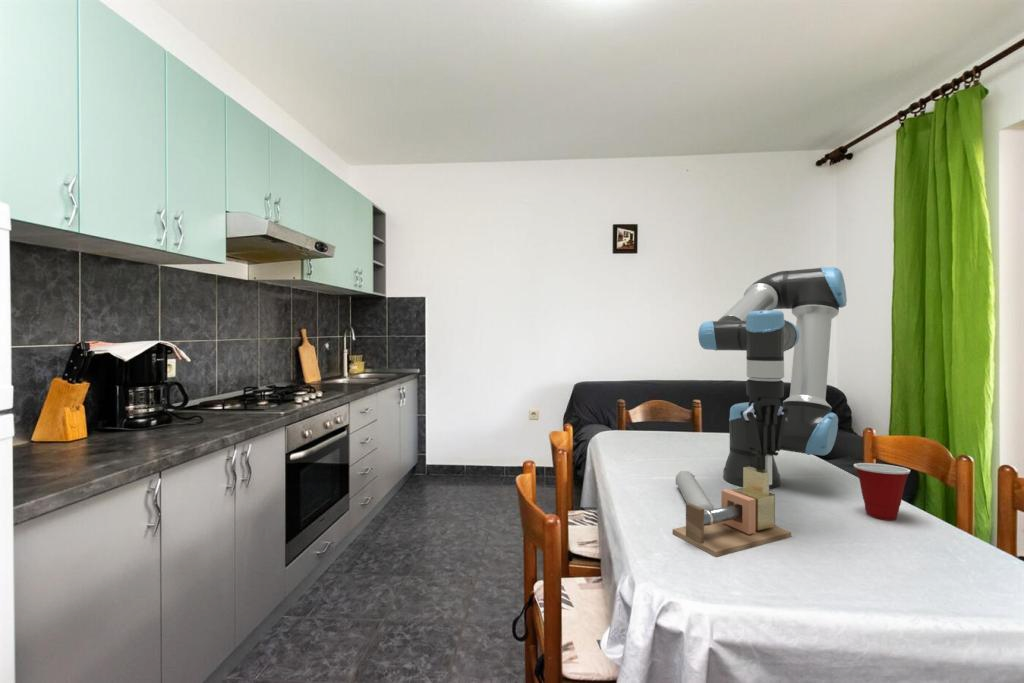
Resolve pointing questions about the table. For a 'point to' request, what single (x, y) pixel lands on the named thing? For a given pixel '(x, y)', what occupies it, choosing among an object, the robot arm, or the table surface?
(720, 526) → the base board
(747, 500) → the square pink collar
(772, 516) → the sleeve
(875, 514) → the plastic cup
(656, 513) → the table surface
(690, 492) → the tube
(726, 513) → the pipe
